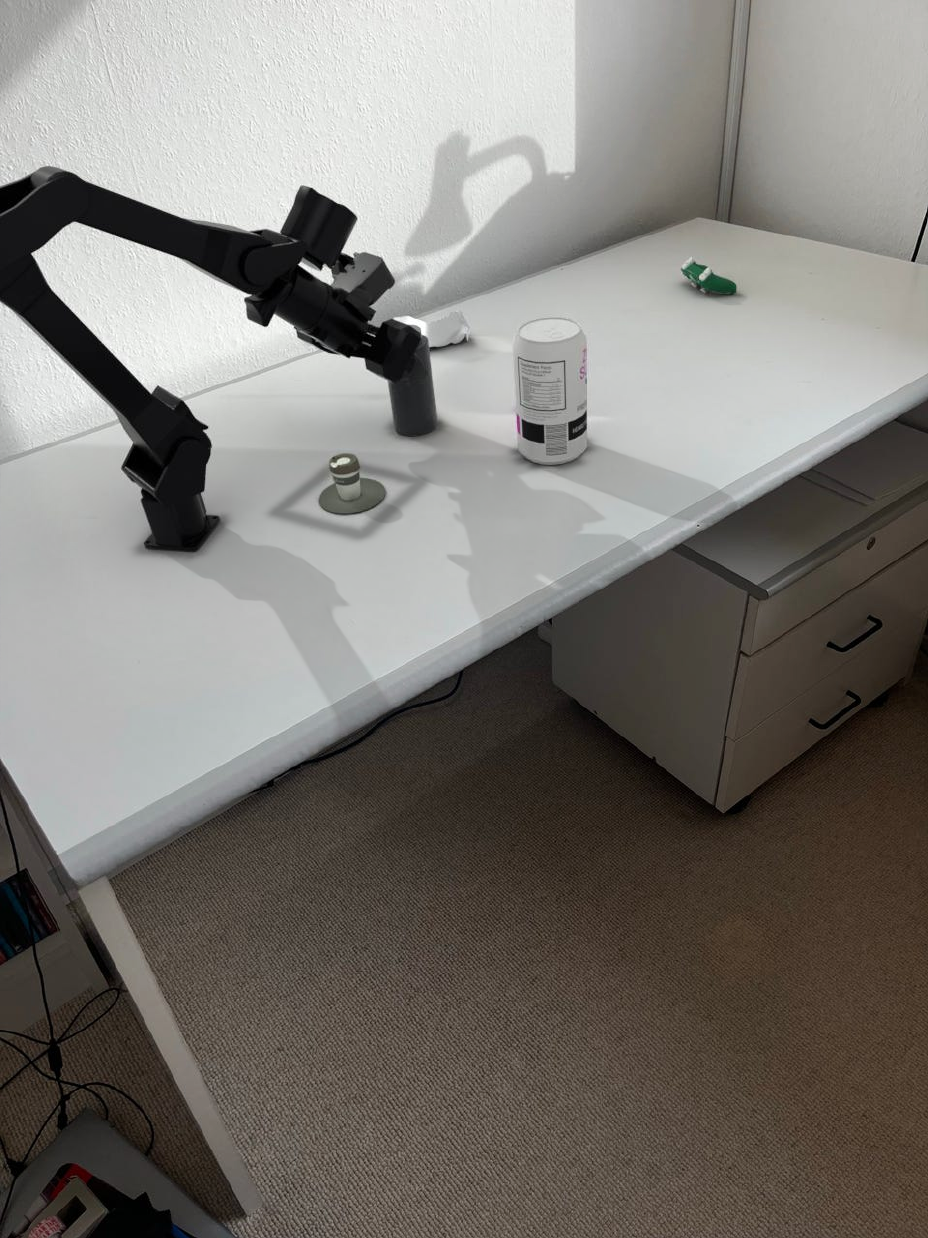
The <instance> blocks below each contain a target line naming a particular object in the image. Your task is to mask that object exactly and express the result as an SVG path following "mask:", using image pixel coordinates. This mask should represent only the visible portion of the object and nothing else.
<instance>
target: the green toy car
mask: <svg viewBox="0 0 928 1238" xmlns="http://www.w3.org/2000/svg"><path fill="white" fill-rule="evenodd" d="M680 270H681V273H682V275H683V276H684V277H686V278H687V279H688V280H691V281H692V282H691V286H693V287H694V288H697V287H701V288H700V291H701V292H702V293H703V294H706V293H710V292H713V293H717V294H722V295H732V294H733V295H734V294H735V293H737V284H736V283H735V282H734V281H733V280H731V279H729V278H727V277H723V276H720V275H717V274H715V273H714V272H713V270H712V269H711V267H709V266H707V265H705V264H698V263H696V261H695V260H694V258H693V257H692V256H690V257H689V258H688V259H687V260H686V261H685V262H683V264H682V265H681V267H680Z"/></svg>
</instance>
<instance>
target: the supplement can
mask: <svg viewBox="0 0 928 1238" xmlns="http://www.w3.org/2000/svg"><path fill="white" fill-rule="evenodd" d="M587 341H588V340H587V336H586V334H585V333H584V331H583V329H582V326H581V324H580V323H579V322H578V321H576V320H574V319H572V318H569V317H568V318H567V317H562V316H545V317H538V318H534V319H530V320H527V321H526V322H524V323H522V324H521V325H520V326H519V327H518V328H517V333H516V335H515V337H514V339H513V341H512V359H513V377H514V378H513V379H514V380H513V381H514V395H515V398H514V399H515V414H516V431H517V447H518V448H517V450H518V452H520V454H521V456H524V457H525V458H526V459H527V460H529V461H530V462H532V463H535V464H538V465H545V466H546V465H548V466H554V465H556V466H557V465H562V464H567V463H569V462H572V461H574V460H576V459H577V458H579V457H580V455H582V454H583V453H584V452H585V451H586V449H587V448H588V367H587V366H588V363H587V362H588V361H587V360H588V355H587V354H588V348H587V347H588V346H587V345H588V344H587V343H588V342H587Z"/></svg>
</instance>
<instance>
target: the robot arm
mask: <svg viewBox="0 0 928 1238" xmlns="http://www.w3.org/2000/svg"><path fill="white" fill-rule="evenodd" d="M357 222H358V216H357V215H356V213H354V212H353V211H352V210H351V209H349V207H347V206H346V205H344V204H342V203H338V202H336V201H335V200H333V199H331V198H330V197H328V196H327V195H324V194H322V193H319V192H318V191H317V190H316V189H315V188H313V187H310V186H307V185H303V184H302V185H299V188H298V189H297V192H296V193H295V196H294V201H293V203H292V206H291V209H290V211H289V212H288V214H287V217H286V218H285V221H284V223H283V225H282V227H281V229H280V231H279V232H278V231H274V230H271V229H268V228H262V229H255V230H246V229H244V228H240V227H237V226H233V225H230V224H225V223H220V222H219V223H218V222H213V221H207V220H198V219H190V218H186V217H181V216H178V215H175V214H173V213H170V212H168V211H165V210H163V209H159V208H157V207H155V206H152V205H149V204H147V203H144V202H141V201H138V200H137V199H134V198H131V197H128V196H125V195H123V194H121V193H118V192H115V191H113V190H110V189H107V188H105V187H102V186H100V185H97V184H94V183H92V182H89V181H87V180H85V179H83V178H81V177H80V176H79V175H78V174H76V173H73V172H71V171H70V170H69V171H68V170H66V169H63V168H61V167H60V168H59V167H57V166H51V165H45V166H41V167H39V168H37V169H36V170H34V171H33V172H31V173H29V174H28V175H25V176H23V177H22V178H20V179H17V180H14V181H11V182H8V183H6V184H3V185H0V303H1V304H3V306H5V307H7V308H8V309H10V310H11V311H12V312H13V314H14V315H16V316H17V318H19V319H20V320H21V321H22V322H23V323H24V324H25V325H26V326H27V327H28V328H29V329H30V330H31V331H32V332H33V333H34V334H35V335H36V336H37V337H38V338H39V339H40V340H41V341H42V342H43V343H44V344H45V345H46V346H47V347H48V348H49V349H50V350H51V351H52V352H53V353H54V354H55V355H57V356H58V357H59V359H61V360H62V361H63V362H64V363H65V365H66V366H68V367H69V368H70V369H71V370H72V371H73V372H74V373H75V374H76V375H77V376H78V377H79V378H80V379H81V380H82V381H83V382H84V383H85V384H86V385H87V386H88V387H89V388H90V389H91V390H92V391H93V392H94V393H95V394H96V395H97V396H98V397H99V398H100V399H102V401H103V402H104V403H105V404H106V405H108V407H109V408H110V409H111V410H112V411H113V413H114V414H115V415H116V417H117V419H118V421H119V423H120V425H121V426H122V429H123V431H124V432H125V433H126V434H127V436H128V438H129V439H130V441H131V442H132V445H131V446H130V449H129V451H128V453H127V454H126V457H125V459H124V460H123V462H122V464H121V466H120V469H121V471H122V472H123V473H124V475H125V476H126V477H127V478H128V479H129V480H130V481H131V482H132V483H135V484H136V485H137V486H138V487H140V494H141V498H140V503H141V506H142V508H143V512H144V515H145V517H146V520H147V523H148V526H149V528H150V531H151V533H150V535H149V536H148V537H147V538H146V539H145V540H144V542H143V546H144V548H145V549H153V550H155V549H156V550H167V551H168V550H171V551H184V552H197V551H198V550H199V549H200V548H201V547H202V545H203V544H204V542H205V541H206V540H207V539H208V537H209V536H210V535H211V534H212V532H213V531H214V529H215V528H216V527H217V526H218V524H219V523H220V522H221V517H220V515H217V514H216V515H215V514H207V508H206V505H205V502H204V498H203V495H202V493H204V492H205V490H206V478H207V477H206V475H207V465H208V463H209V461H210V458H211V455H212V448H213V443H212V440H211V439H210V436H209V435H208V434H207V433H206V432H205V431H207V430H208V429H209V428H210V427H209V425H207V424H205V423H204V422H203V421H201V420H199V419H197V418H196V416H195V415H194V414H193V411H192V410H191V408H190V407H189V406H188V405H187V403H186V402H185V400H183V399H181V398H179V397H178V396H176V395H175V394H174V393H171V392H170V391H169V390H166V389H165V388H163V387H162V386H161V385H156V386H155V388H154V389H153V390H152V392H150V391H149V390H148V389H147V388H146V387H145V385H144V384H142V382H141V381H140V380H139V379H138V378H137V377H136V376H135V375H134V374H133V373H132V372H131V371H130V370H129V369H128V368H127V367H126V366H125V365H124V364H123V363H122V362H121V361H120V359H118V358H117V356H116V355H115V354H114V353H113V352H112V351H111V350H110V349H109V348H108V347H107V346H106V345H105V344H104V343H103V342H102V341H101V340H100V338H98V336H97V335H95V333H94V332H93V331H92V330H91V329H90V328H89V327H88V325H86V323H84V322H83V321H82V319H80V318H79V316H77V315H76V314H75V312H73V310H72V309H71V308H70V307H69V306H68V305H67V304H66V303H65V302H64V301H63V300H62V299H61V298H60V296H58V295H57V293H55V292H54V290H53V289H52V288H51V286H50V285H49V282H48V281H47V280H46V279H47V278H45V275H44V273H43V272H42V269H41V267H40V265H39V264H38V262H37V260H36V258H35V257H34V255H33V253H35V252H37V251H38V250H40V249H42V248H43V247H44V246H45V245H46V244H48V243H49V242H50V241H51V240H52V239H53V238H54V237H55V236H57V234H58V233H59V232H60V231H62V230H63V229H64V228H65V227H67V226H69V225H71V224H74V223H78V224H80V225H83V226H86V227H89V228H92V229H93V230H98V231H101V232H104V233H106V234H109V235H112V236H115V237H118V238H120V239H123V240H126V241H129V242H132V243H135V244H138V245H141V246H143V247H146V248H149V249H152V250H155V251H158V252H161V253H164V254H167V255H170V256H173V257H175V258H177V259H179V260H181V261H182V262H184V263H186V264H187V265H189V266H190V267H192V268H193V269H195V270H197V271H199V272H200V273H203V274H204V275H206V276H207V277H209V278H211V279H213V280H214V281H217V282H219V283H221V284H223V285H225V286H228V287H230V288H233V289H235V290H238V291H239V292H242V293H244V294H246V295H249V296H245V297H244V298H243V301H244V304H245V312H246V319H247V320H248V321H251V322H253V323H255V324H256V325H259V326H261V327H264V328H267V327H268V326H269V325H270V323H271V321H272V319H273V317H274V315H275V316H277V317H278V318H280V319H282V320H283V321H285V322H286V323H288V324H290V325H291V326H293V329H294V330H295V332H296V337H297V339H299V340H301V341H302V342H304V343H305V344H307V345H309V346H311V347H313V348H314V349H318V350H321V351H323V352H325V353H327V354H329V355H330V354H331V355H338V356H343V357H345V358H347V359H350V358H351V357H352V358H358V359H364V364H365V369H366V370H367V371H369V372H371V373H372V374H374V375H376V376H377V377H379V378H381V379H384V380H386V381H387V380H388V381H390V382H392V383H394V384H395V383H397V382H399V381H402V380H425V379H426V377H427V375H428V371H427V369H426V368H425V366H424V365H423V363H422V362H421V361H420V359H419V358H418V356H417V355H416V353H415V351H416V349H417V347H418V345H419V343H420V341H421V333H420V332H418V331H417V330H415V329H414V328H413V327H411V326H410V325H407V324H405V323H402V322H399V321H397V320H394V318H389V319H387V320H385V321H382V322H381V324H380V326H377V325H374V324H372V323H370V322H372V320H373V319H374V316H375V314H376V313H377V311H376V310H375V309H374V308H373V307H371V306H373V305H374V304H376V303H377V302H378V301H379V300H380V298H381V297H382V296H383V295H384V294H385V293H386V292H387V291H388V290H391V289H393V287H394V286H395V284H396V279H395V278H394V275H393V274H392V272H391V271H390V268H388V265H387V263H386V262H385V261H384V258H382V257H381V256H379V255H376V254H372V253H369V252H365V251H363V252H356V251H355V252H354V253H352V255H353V256H351V255H349V254H347V253H344V252H343V250H344V248H345V246H346V244H347V242H348V240H349V238H350V236H351V234H352V231H353V230H354V228H355V226H356V224H357ZM300 263H302V264H303V265H305V266H307V267H309V268H311V269H313V270H314V271H318V272H322V270H323V268H324V267H326V268H327V269H329V270H330V272H331V278H332V279H333V281H332V283H331V284H329V283H327V282H326V281H322V280H321V279H320V278H318V277H317V276H316V275H314V274H313V273H311V272H309V271H308V270H306V269H305V268H304V267H303V266H301V265H300ZM369 321H370V322H369ZM388 381H387V382H388Z"/></svg>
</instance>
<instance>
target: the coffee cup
mask: <svg viewBox="0 0 928 1238" xmlns="http://www.w3.org/2000/svg"><path fill="white" fill-rule="evenodd" d="M328 467H329V468H328V469H329V471H330V473H331V476H332V480H333V483H332V484H330V485H328V486H327V487H326V488H324V489H323V490H322V491H321V492H320V494H319V496H318V504H319V506H320V507H321V508H322V509H323V510H325V511H326V512H329V513H332V514H337V515H352V514H359V513H362V512H365V511H368V510H370V509H373V508H374V507H376V506H378V505H379V504H380V503H381V502H382V501H383V499H384V497H385V496H386V487H385V486H384V485H383V483H381V482H380V481H378V480H376V479H372V478H370V477H369V478H368V477H360V476H361V475H360V469H361V465H360V461H359V458H358V457H357V456H356V455H355V454H353V453H347V452H345V453H343V452H342V453H338V454H336V455H333V456H332V457H331V458H330V459H329V465H328Z"/></svg>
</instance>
